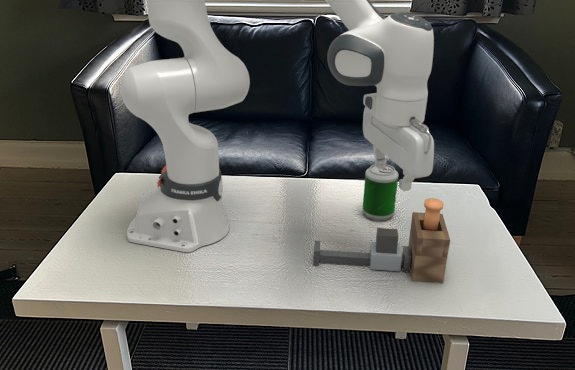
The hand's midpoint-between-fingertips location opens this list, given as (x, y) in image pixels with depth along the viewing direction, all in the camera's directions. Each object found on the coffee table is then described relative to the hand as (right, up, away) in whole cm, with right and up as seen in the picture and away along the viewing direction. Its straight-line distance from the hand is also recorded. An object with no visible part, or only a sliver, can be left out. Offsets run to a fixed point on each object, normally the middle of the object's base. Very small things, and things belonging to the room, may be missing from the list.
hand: (391, 177), depth 107 cm
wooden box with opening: (+8, -18, +8) cm, 22 cm away
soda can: (+2, -9, +28) cm, 29 cm away
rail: (-5, -18, +9) cm, 20 cm away
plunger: (+8, -10, +4) cm, 14 cm away
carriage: (0, -18, +9) cm, 20 cm away
